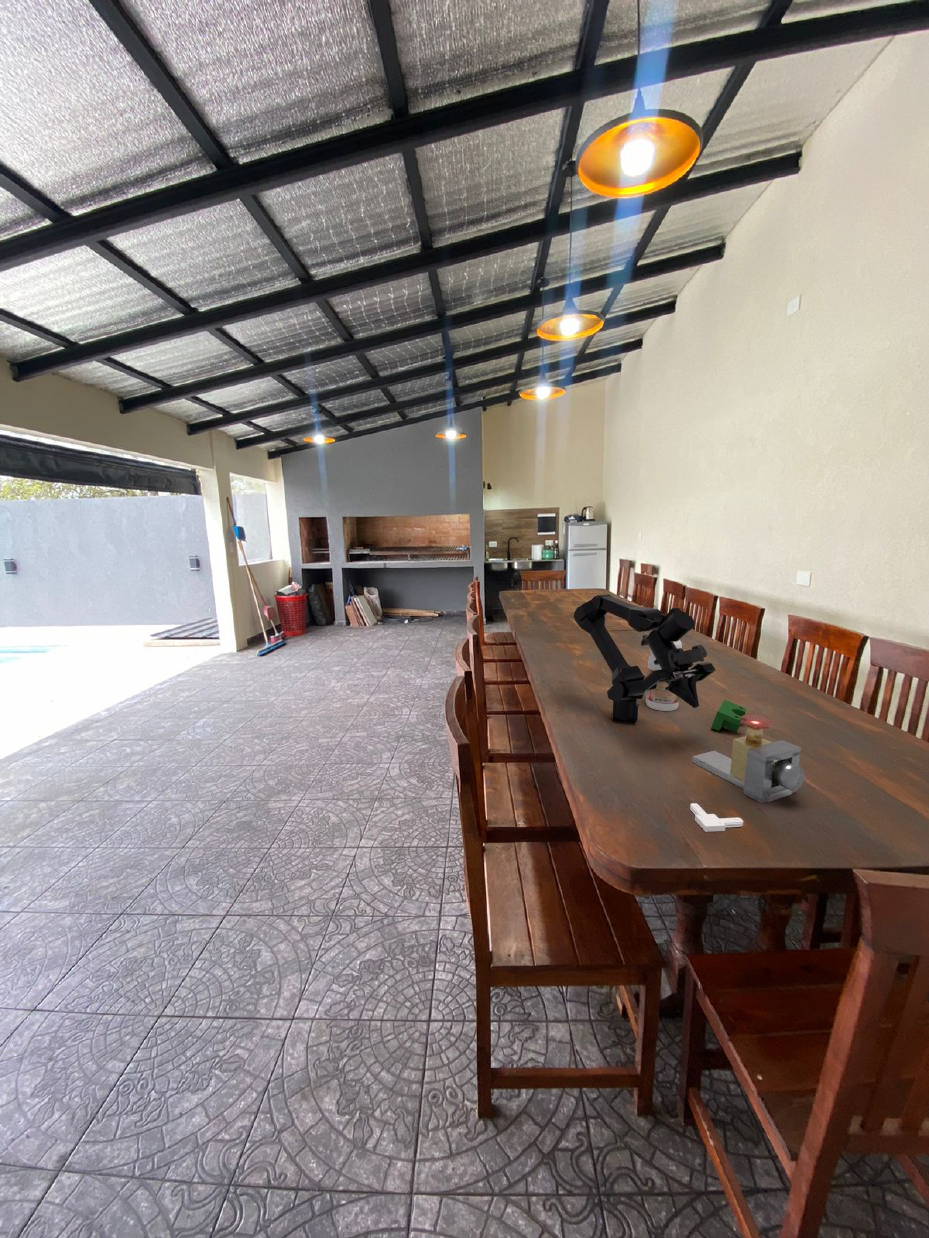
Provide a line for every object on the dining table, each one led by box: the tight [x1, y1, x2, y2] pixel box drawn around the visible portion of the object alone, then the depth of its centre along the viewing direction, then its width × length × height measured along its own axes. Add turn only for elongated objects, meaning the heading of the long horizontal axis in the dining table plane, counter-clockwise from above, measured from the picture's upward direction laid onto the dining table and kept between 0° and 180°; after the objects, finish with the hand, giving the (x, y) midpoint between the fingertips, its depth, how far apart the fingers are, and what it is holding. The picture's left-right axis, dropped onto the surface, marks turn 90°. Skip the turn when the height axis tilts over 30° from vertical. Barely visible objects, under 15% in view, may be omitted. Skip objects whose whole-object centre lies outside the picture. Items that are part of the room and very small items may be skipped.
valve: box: [730, 714, 780, 781], centre depth 106 cm, size 8×6×13 cm
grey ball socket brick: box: [692, 739, 806, 804], centre depth 108 cm, size 22×10×10 cm, turn 23°
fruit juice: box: [645, 639, 683, 712], centre depth 151 cm, size 9×9×28 cm
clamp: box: [710, 699, 747, 733], centre depth 137 cm, size 12×6×9 cm, turn 139°
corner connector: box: [689, 802, 744, 833], centre depth 95 cm, size 8×8×2 cm
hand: (696, 707), depth 119 cm, fingers closed
